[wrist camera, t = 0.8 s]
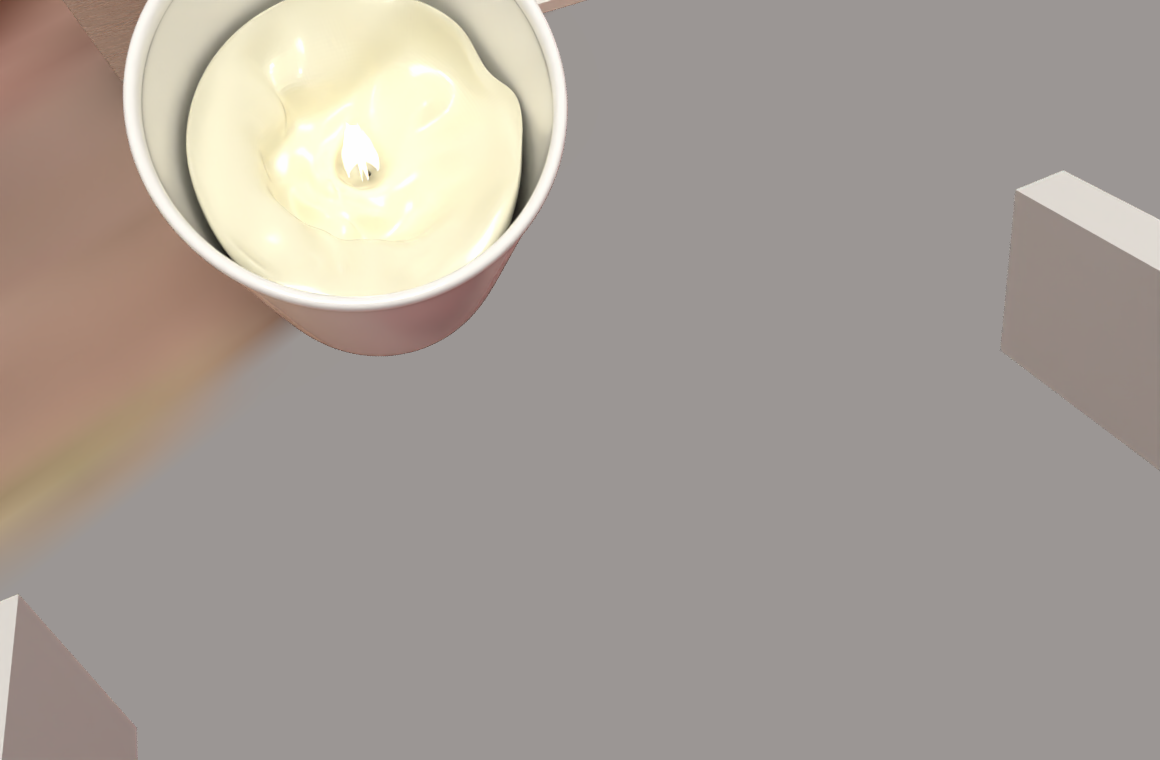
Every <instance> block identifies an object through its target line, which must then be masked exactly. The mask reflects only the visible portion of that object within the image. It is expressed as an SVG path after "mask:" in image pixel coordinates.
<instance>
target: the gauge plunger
mask: <svg viewBox="0 0 1160 760" xmlns="http://www.w3.org/2000/svg"><path fill="white" fill-rule="evenodd" d="M63 1H64V3H65V4H66V5H67V7H68V8H69V10H70V11H71V12H72V14H73V15H74V16H75V18H76V19H77V21H78V22H79V23H80V25H81V26H82V27H83V29H84V30H85V32H86V33H87V34H88V36H89V37H90V38H91V40H92V41H93V43H94V44H95V45H96V47H97V48H98V49H99V51H100V52H101V54H102V55H103V56H104V58H105V59H106V60H107V62H108V63H109V65H110V66H111V67H112V69H113V70H114V72H115V73H116V74H117V76H118V77H119V78H120V80H121V81H122V83H123V80H124V70H125V63H126V58H127V53H128V49H129V45H130V41H131V38H132V35H133V32H134V29H135V26H136V24H137V21H138V19H139V17H140V14H141V12H142V10H143V8H144V6H145V4H146V2H147V1H148V0H63Z"/></svg>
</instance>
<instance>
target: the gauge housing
mask: <svg viewBox="0 0 1160 760" xmlns="http://www.w3.org/2000/svg"><path fill="white" fill-rule="evenodd" d="M535 1H536V2H537V4H538V5H539V7H540V9H541V11H542V12H543V13H546V12H549V11H552V10H556V9H559V8H562V7H566V6H569V5H572V4H576V3H579V2H582V1H586V0H535Z"/></svg>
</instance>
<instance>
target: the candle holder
mask: <svg viewBox="0 0 1160 760" xmlns="http://www.w3.org/2000/svg"><path fill="white" fill-rule="evenodd" d="M123 111H124V120H125V127H126V133H127V138H128V142H129V146H130V149H131V153H132V156H133V159H134V162H135V165H136V167H137V170H138V172H139V175H140V177H141V179H142V181H143V184H144V186H145V188H146V190H147V191H148V193H149V195H150V197H151V199H152V200H153V202H154V203H155V205H156V207H157V208H158V210H159V211H160V213H161V214H162V215H163V217H164V218H165V220H166V221H167V222H168V223H169V225H170V226H171V227H172V228H173V230H174V231H175V232H176V233H177V234H178V235H179V236H180V237H181V238H182V240H183V241H184V242H185V243H186V244H187V245H188V246H189V247H190V248H192V249H193V250H194V251H195V252H196V253H197V254H198V255H199V256H201V257H202V258H203V259H204V260H205V261H207V262H208V263H209V264H211V265H212V266H213V267H215V268H216V269H217V270H219V271H220V272H222V273H223V274H225V275H227V276H228V277H230V278H231V279H233V280H235V281H237V282H238V283H240V284H241V285H243V286H244V287H245V288H246V289H248V290H249V291H250V292H251V293H253V294H254V295H255V296H256V297H258V298H259V299H260V300H261V301H263V302H264V303H265V304H266V305H268V306H269V307H270V308H271V309H273V310H274V311H275V312H276V313H278V314H279V315H280V316H281V317H283V318H284V319H285V320H287V321H288V322H289V323H291V324H292V325H293V326H295V327H296V328H297V329H299V330H300V331H302V332H303V333H305V334H306V335H308V336H310V337H311V338H313V339H315V340H317V341H319V342H321V343H323V344H325V345H327V346H330V347H332V348H335V349H338V350H341V351H345V352H349V353H353V354H359V355H367V356H392V355H399V354H405V353H409V352H413V351H416V350H420V349H423V348H425V347H428V346H430V345H433V344H435V343H437V342H439V341H440V340H442V339H444V338H446V337H447V336H449V335H450V334H452V333H453V332H455V331H456V330H457V329H458V328H460V327H461V326H462V325H463V324H464V323H465V322H467V321H468V320H469V319H470V317H472V315H473V314H474V313H475V312H476V311H477V310H478V308H479V307H480V306H481V305H482V303H483V302H484V300H485V299H486V297H487V296H488V294H489V293H490V291H491V289H492V288H493V286H494V284H495V283H496V281H497V279H498V278H499V276H500V274H501V272H502V270H503V269H504V266H505V265H506V263H507V261H508V260H509V258H510V256H511V254H512V252H513V251H514V249H515V247H516V245H517V244H518V242H519V240H520V238H521V236H522V235H523V234H524V233H525V231H526V230H527V229H528V227H529V226H530V225H531V223H532V222H533V220H534V219H535V217H536V216H537V214H538V213H539V211H540V209H541V207H542V206H543V204H544V202H545V200H546V198H547V196H548V194H549V192H550V190H551V188H552V185H553V182H554V180H555V178H556V175H557V172H558V169H559V165H560V162H561V158H562V153H563V150H564V144H565V138H566V131H567V116H568V104H567V89H566V81H565V75H564V70H563V65H562V61H561V57H560V54H559V50H558V47H557V44H556V42H555V39H554V36H553V34H552V31H551V29H550V27H549V24H548V22H547V20H546V18H545V16H544V14H543V12H542V11H541V9H540V7H539V5H538V4H537V2H536V1H535V0H148V1H147V2H146V4H145V6H144V8H143V10H142V12H141V14H140V17H139V19H138V21H137V24H136V26H135V29H134V32H133V35H132V38H131V41H130V45H129V49H128V53H127V58H126V63H125V70H124V80H123Z"/></svg>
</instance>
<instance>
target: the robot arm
mask: <svg viewBox="0 0 1160 760" xmlns="http://www.w3.org/2000/svg"><path fill="white" fill-rule="evenodd" d="M1000 350H1001V352H1003V353H1004V354H1006V355H1007V356H1008V357H1009V358H1011V359H1012V360H1013V361H1015V362H1016V363H1018V364H1019V365H1020V366H1021V367H1023V368H1024V369H1026V370H1027V371H1028V372H1029V373H1031V374H1032V375H1033V376H1035V377H1036V378H1037V379H1039V380H1040V381H1041V382H1043V383H1044V384H1045V385H1047V386H1048V387H1049V388H1051V389H1052V390H1053V391H1055V392H1056V393H1057V394H1059V395H1060V396H1061V397H1063V398H1064V399H1065V400H1067V401H1068V402H1069V403H1070V404H1072V405H1074V407H1076V408H1077V409H1079V410H1080V411H1081V412H1082V413H1084V414H1085V415H1086V416H1088V417H1089V418H1091V419H1092V420H1093V421H1094V422H1096V423H1097V424H1098V425H1100V426H1101V427H1103V428H1104V429H1105V430H1106V431H1108V432H1109V433H1110V434H1112V435H1113V436H1114V437H1116V438H1117V439H1118V440H1120V441H1121V442H1122V443H1124V444H1125V445H1126V446H1128V447H1129V448H1130V449H1132V450H1133V451H1134V452H1136V453H1137V454H1138V455H1139V456H1141V457H1142V458H1143V459H1145V460H1146V461H1147V462H1149V463H1150V464H1151V465H1153V466H1154V467H1155V468H1157V469H1158V470H1159V471H1160V220H1159V219H1157V218H1155V217H1153V216H1151V215H1149V214H1147V213H1145V212H1143V211H1141V210H1140V209H1138V208H1136V207H1133V206H1132V205H1130V204H1128V203H1126V202H1124V201H1122V200H1120V199H1118V198H1116V197H1114V196H1112V195H1110V194H1108V193H1106V192H1104V191H1102V190H1101V189H1099V188H1096V187H1095V186H1093V185H1091V184H1089V183H1087V182H1085V181H1083V180H1081V179H1079V178H1077V177H1075V176H1073V175H1071V174H1070V173H1068V172H1066V171H1061V172H1058V173H1056V174H1053V175H1051V176H1048V177H1046V178H1043V179H1041V180H1039V181H1036V182H1034V183H1031V184H1029V185H1026V186H1024V187H1021V188H1019V189H1016V192H1015V201H1014V212H1013V222H1012V233H1011V244H1010V255H1009V264H1008V274H1007V285H1006V295H1005V306H1004V316H1003V327H1002V337H1001V348H1000ZM0 760H137V728H136V727H135V725H134V724H133V723H132V722H131V721H130V720H129V718H128V717H127V716H126V715H125V714H124V713H123V712H122V711H121V710H120V708H119V707H118V706H117V705H116V704H115V703H114V701H112V699H111V698H110V697H109V696H108V695H107V694H106V692H105V691H104V690H103V689H102V688H101V687H100V686H99V685H98V683H97V682H96V681H95V680H94V679H93V678H92V677H91V675H90V674H89V673H88V672H87V671H86V670H85V669H84V667H83V666H82V665H81V664H80V663H79V662H78V661H77V660H76V658H75V657H73V655H72V654H71V653H70V652H69V651H68V649H67V648H66V647H65V646H64V645H63V644H62V643H61V641H60V640H59V639H58V638H57V637H56V636H55V635H54V634H53V632H52V631H51V630H50V629H49V628H48V627H47V626H46V624H44V622H43V621H42V620H41V619H40V618H39V617H38V615H36V613H35V612H34V611H33V610H32V609H31V608H30V606H29V605H28V604H27V603H26V602H25V601H24V600H23V599H22V597H20V595H19V594H17V595H15V596H12V597H10V598H7V599H5V600H2V601H0Z"/></svg>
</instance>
